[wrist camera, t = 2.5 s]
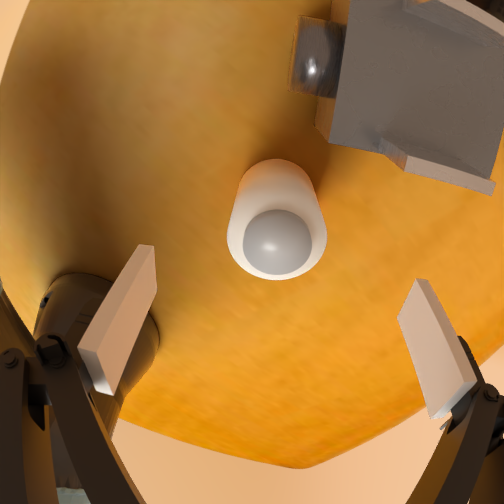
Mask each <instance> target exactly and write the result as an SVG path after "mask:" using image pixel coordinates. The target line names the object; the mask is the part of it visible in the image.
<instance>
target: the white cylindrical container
mask: <svg viewBox="0 0 504 504" xmlns="http://www.w3.org/2000/svg"><path fill="white" fill-rule="evenodd" d="M227 243H228V247H229V250H230V253H231V255H232V257H233V258H234V260H235V261H236V262H237V263H238V264H239V265H240V266H241V267H242V268H243V269H244V270H246V271H247V272H249V273H251V274H252V275H255V276H257V277H260V278H264V279H269V280H284V279H290V278H294V277H297V276H299V275H301V274H303V273H305V272H307V271H308V270H310V269H311V268H312V267H313V266H314V265H315V264H316V263H317V262H318V261H319V259H320V258H321V256H322V255H323V253H324V250H325V247H326V243H327V229H326V226H325V222H324V219H323V216H322V213H321V209H320V206H319V203H318V200H317V197H316V194H315V191H314V188H313V185H312V182H311V180H310V178H309V176H308V175H307V173H306V172H305V171H304V170H303V169H302V168H301V167H299V166H298V165H296V164H295V163H293V162H290V161H287V160H283V159H268V160H264V161H261V162H259V163H257V164H255V165H253V166H252V167H251V168H250V169H248V170H247V172H246V173H245V174H244V175H243V177H242V179H241V181H240V184H239V187H238V191H237V195H236V198H235V202H234V206H233V210H232V214H231V218H230V222H229V226H228V231H227Z"/></svg>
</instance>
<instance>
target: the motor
mask: <svg viewBox="0 0 504 504" xmlns="http://www.w3.org/2000/svg"><path fill="white" fill-rule="evenodd" d="M288 91H290V92H296V93H302V94H308V95H314V96H319V97H318V103H317V109H316V116H315V122H314V126H315V127H316V128H317V130H318V131H319V132H320V133H321V135H322V136H323V137H324V138H325V139H326V141H327V142H328V143H331V144H337V145H342V146H347V147H352V148H357V149H362V150H366V151H371V152H376V153H380V154H384V155H385V156H386V157H388V158H389V159H390V160H391V161H392V162H394V163H395V164H396V165H397V166H398V167H400V168H401V169H402V170H403V171H405V172H409V173H413V174H417V175H421V176H425V177H428V178H432V179H436V180H440V181H443V182H447V183H450V184H454V185H457V186H461V187H464V188H467V189H471V190H474V191H477V192H480V193H483V194H486V195H489V196H492V193H493V190H494V187H495V184H496V183H495V182H494V181H492V180H491V179H490V175H491V172H492V169H493V166H494V162H495V159H496V155H497V151H498V148H499V144H500V140H501V136H502V132H503V128H504V23H503V22H501V21H500V20H498V19H497V18H495V17H494V16H492V15H490V14H489V13H487V12H485V11H484V10H482V9H480V8H478V7H477V6H475V5H473V4H471V3H470V2H468V1H466V0H332V6H331V14H330V21H328V20H323V19H318V18H313V17H307V16H301V15H299V16H298V19H297V23H296V27H295V32H294V38H293V44H292V51H291V58H290V66H289V76H288Z"/></svg>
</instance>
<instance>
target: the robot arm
mask: <svg viewBox="0 0 504 504" xmlns="http://www.w3.org/2000/svg"><path fill="white" fill-rule="evenodd" d="M156 293H157V281H156V269H155V255H154V246H151V245H143V244H139V245H138V247H137V248H136V250H135V251H134V253H133V254H132V256H131V257H130V259H129V260H128V262H127V263H126V265H125V267H124V268H123V270H122V271H121V273H120V274H119V276H118V278H117V279H116V281H115V283H112V282H110V281H108V280H105V279H103V278H100V277H97V276H94V275H90V274H84V273H71V274H66V275H63V276H61V277H59V278H58V279H56V280H55V281H54V282H53V283H52V285H51V286H50V287H49V289H48V290H47V291H46V293H45V294H44V296H43V298H42V300H41V303H40V308H39V311H38V315H37V319H36V323H35V327H34V331H33V336H32V335H31V333H30V332H29V330H28V329H27V327H26V326H25V324H24V323H23V321H22V320H21V318H20V317H19V315H18V313H17V312H16V310H15V308H14V307H13V305H12V303H11V302H10V300H9V298H8V296H7V295H6V293H5V291H4V289H3V287H2V281H1V278H0V504H146V502H145V501H144V499H143V498H142V496H141V494H140V493H139V491H138V489H137V487H136V486H135V484H134V483H133V481H132V479H131V477H130V476H129V474H128V472H127V470H126V468H125V466H124V464H123V462H122V461H121V459H120V457H119V455H118V453H117V451H116V449H115V447H114V445H113V443H112V441H111V439H112V436H113V432H114V429H115V426H116V423H117V419H118V416H119V413H120V410H121V407H122V404H123V401H124V398H125V397H126V395H127V394H128V393H129V392H130V391H131V389H132V388H133V387H134V386H135V385H136V383H137V382H138V381H139V380H140V379H141V378H142V376H143V375H144V374H145V373H146V372H147V370H148V369H149V368H150V367H151V365H152V363H153V361H154V359H155V356H156V353H157V350H158V346H159V334H158V330H157V327H156V325H155V323H154V321H153V319H152V317H151V316H150V314H149V313H148V311H149V308H150V306H151V304H152V301H153V299H154V297H155V295H156ZM397 319H398V322H399V325H400V327H401V330H402V333H403V336H404V338H405V341H406V344H407V347H408V350H409V353H410V355H411V358H412V361H413V364H414V367H415V370H416V373H417V377H418V380H419V383H420V386H421V389H422V393H423V396H424V399H425V403H426V406H427V409H428V413H429V417H430V419H435V418H443V417H444V416H445V415H446V414H447V413H448V412H449V411H450V410H451V413H452V417H451V418H450V419H449V420H447V421H446V422H445V423H444V424H443V425H442V426H441V428H440V430H442V429H443V428H444V427H445V426H446V427H445V430H444V432H443V434H442V436H441V439H440V441H439V443H438V445H437V447H436V449H435V451H434V453H433V455H432V458H431V459H430V461H429V463H428V465H427V467H426V469H425V471H424V473H423V475H422V477H421V479H420V480H419V482H418V484H417V485H416V487H415V489H414V491H413V492H412V494H411V496H410V498H409V499H408V501H407V502H406V504H467V503H468V501H469V504H504V439H503V433H504V396H502V395H500V394H499V392H498V390H497V389H496V388H495V387H494V386H493V385H491V384H488V383H487V384H486V383H485V381H484V379H483V376H482V374H481V372H480V370H479V367H478V365H477V363H476V361H475V360H474V356H473V354H472V353H471V350H470V348H469V346H468V344H467V343H466V341H465V340H464V339H463V338H462V337H461V336H457V335H456V333H455V331H454V329H453V327H452V325H451V323H450V321H449V319H448V317H447V315H446V313H445V311H444V309H443V307H442V305H441V303H440V302H439V300H438V298H437V296H436V294H435V292H434V291H433V289H432V287H431V285H430V284H429V282H428V280H424V279H415V281H414V283H413V286H412V288H411V290H410V292H409V294H408V296H407V298H406V300H405V302H404V304H403V306H402V308H401V310H400V312H399V314H398V316H397ZM469 498H470V500H469Z"/></svg>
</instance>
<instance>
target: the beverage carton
mask: <svg viewBox="0 0 504 504" xmlns="http://www.w3.org/2000/svg"><path fill="white" fill-rule="evenodd" d="M466 1H468V2H470V3H471V4H473V5H475V6H477V7H478V8H480V9H482V10H484V11H485V12H487V13H489V14H490V15H492V16H494V17H495V18H497V19H498V20H500V21H501V22H503V23H504V0H466Z"/></svg>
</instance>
